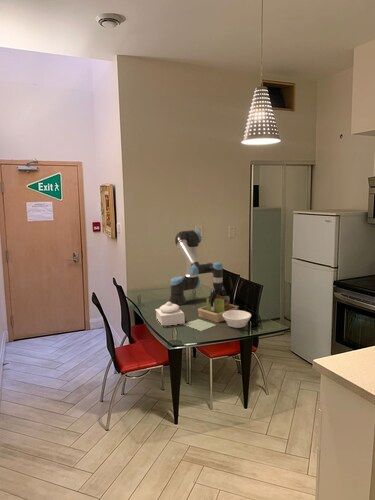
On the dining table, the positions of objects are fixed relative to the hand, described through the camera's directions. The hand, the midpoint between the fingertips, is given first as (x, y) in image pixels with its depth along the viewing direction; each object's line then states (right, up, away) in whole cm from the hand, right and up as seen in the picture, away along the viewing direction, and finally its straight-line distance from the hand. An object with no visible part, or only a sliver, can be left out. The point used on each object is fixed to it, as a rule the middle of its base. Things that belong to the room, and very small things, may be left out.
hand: (218, 308), depth 298 cm
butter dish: (-38, -9, -11) cm, 40 cm away
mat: (-15, -9, -19) cm, 26 cm away
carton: (0, -6, +1) cm, 6 cm away
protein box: (0, -6, +1) cm, 6 cm away
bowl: (+12, -9, -20) cm, 25 cm away
